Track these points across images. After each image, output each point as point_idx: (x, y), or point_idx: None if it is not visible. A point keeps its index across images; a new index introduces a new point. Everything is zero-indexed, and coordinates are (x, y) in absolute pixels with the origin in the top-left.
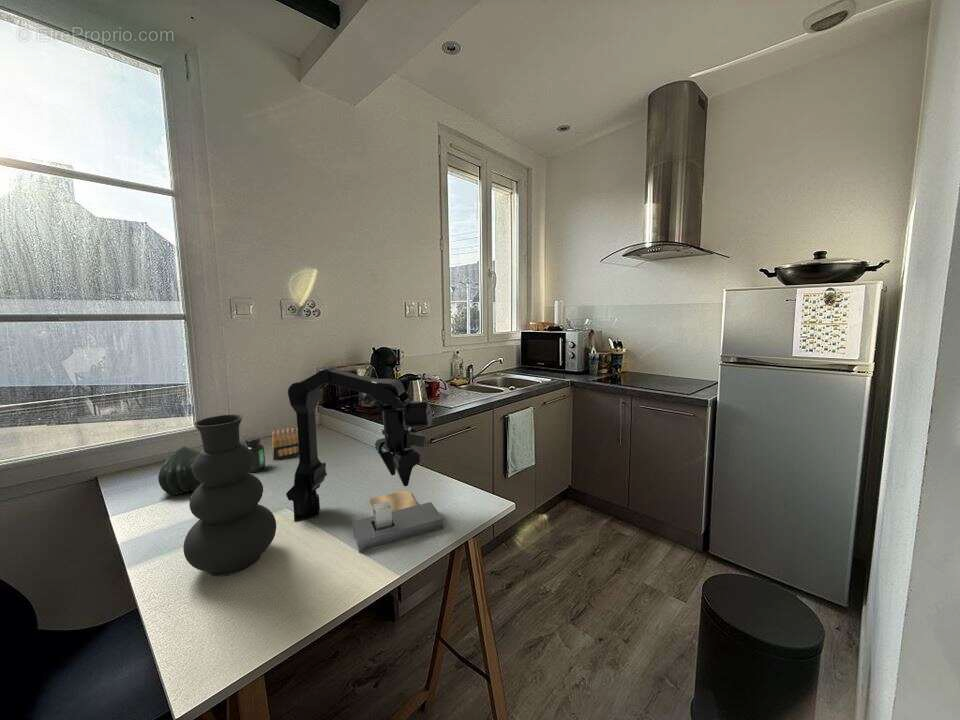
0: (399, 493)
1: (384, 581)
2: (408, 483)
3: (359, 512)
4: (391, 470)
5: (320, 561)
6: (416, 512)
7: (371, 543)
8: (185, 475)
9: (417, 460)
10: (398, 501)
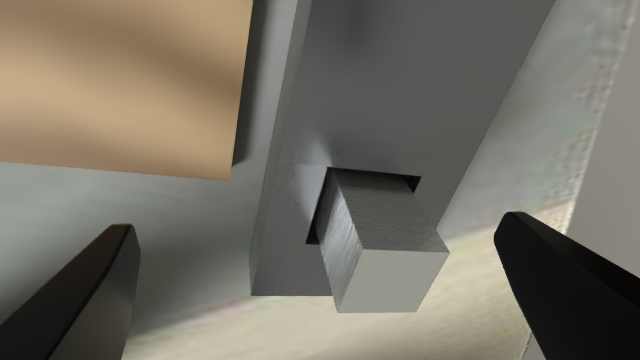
0: None
1: None
2: (540, 222)
3: (84, 214)
4: (124, 310)
5: (343, 334)
6: (401, 26)
7: None
8: None
9: None
10: (85, 9)
